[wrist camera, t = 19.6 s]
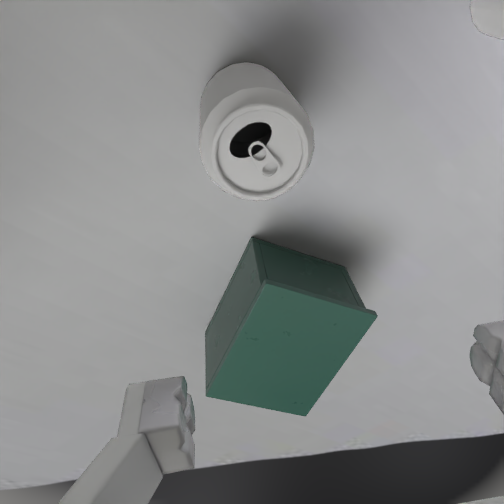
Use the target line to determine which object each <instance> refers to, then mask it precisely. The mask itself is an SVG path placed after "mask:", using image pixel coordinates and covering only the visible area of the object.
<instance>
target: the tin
mask: <svg viewBox="0 0 504 504" xmlns="http://www.w3.org/2000/svg"><path fill="white" fill-rule="evenodd" d="M265 279H268V280H272V281H275V282H278V283H282V284H285V285H288V286H292V287H295V288H298V289H302V290H305V291H309V292H312V293H315V294H319V295H322V296H325V297H329V298H332V299H335V300H339V301H342V302H345V303H349V304H352V305H356V306H359V307H362V308H365V306H364V304H363V302H362V300H361V298H360V296H359V294H358V292H357V290H356V288H355V286H354V284H353V282H352V280H351V278H350V276H349V274H348V272H347V270H346V268H345V267H343V266H340V265H337V264H334V263H330V262H327V261H324V260H321V259H318V258H315V257H312V256H309V255H306V254H303V253H300V252H297V251H294V250H291V249H287V248H284V247H281V246H278V245H275V244H272V243H269V242H266V241H263V240H260V239H257V238H254V237H251V239H250V241H249V243H248V245H247V247H246V249H245V251H244V254H243V256H242V258H241V260H240V262H239V264H238V266H237V268H236V270H235V272H234V274H233V276H232V278H231V280H230V283H229V285H228V287H227V289H226V291H225V293H224V295H223V297H222V299H221V301H220V303H219V305H218V307H217V309H216V312H215V314H214V316H213V318H212V320H211V322H210V324H209V326H208V328H207V330H206V332H205V352H206V389H207V388H208V386H209V384H210V382H211V380H212V378H213V376H214V374H215V372H216V371H217V369H218V367H219V365H220V363H221V361H222V359H223V357H224V355H225V353H226V352H227V350H228V348H229V346H230V344H231V342H232V340H233V338H234V336H235V335H236V333H237V331H238V329H239V327H240V325H241V323H242V321H243V319H244V317H245V316H246V314H247V312H248V310H249V308H250V306H251V304H252V302H253V300H254V299H255V297H256V295H257V293H258V291H259V289H260V287H261V285H262V283H263V281H264V280H265Z"/></svg>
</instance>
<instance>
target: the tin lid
mask: <svg viewBox="0 0 504 504" xmlns="http://www.w3.org/2000/svg"><path fill="white" fill-rule="evenodd" d="M376 318H377V314H376V312H375V311H372V310H369V309H366V308H362V307H359V306H356V305H352V304H349V303H345V302H342V301H339V300H335V299H332V298H329V297H325V296H322V295H319V294H315V293H312V292H309V291H305V290H302V289H298V288H295V287H292V286H288V285H285V284H282V283H278V282H275V281H272V280H268V279H265V280H264V281H263V283H262V285H261V287H260V289H259V291H258V293H257V295H256V297H255V299H254V300H253V302H252V304H251V306H250V308H249V310H248V312H247V314H246V316H245V317H244V319H243V321H242V323H241V325H240V327H239V329H238V331H237V333H236V335H235V336H234V338H233V340H232V342H231V344H230V346H229V348H228V350H227V352H226V353H225V355H224V357H223V359H222V361H221V363H220V365H219V367H218V369H217V371H216V372H215V374H214V376H213V378H212V380H211V382H210V384H209V386H208V388H207V389H206V396H207V397H211V398H216V399H221V400H226V401H231V402H236V403H241V404H246V405H251V406H256V407H261V408H266V409H271V410H276V411H281V412H286V413H291V414H296V415H301V416H306V415H307V414H308V412H309V411H310V410H311V408H312V407H313V405H314V404H315V403H316V401H317V400H318V398H319V397H320V396H321V394H322V393H323V392H324V390H325V389H326V387H327V386H328V385H329V383H330V382H331V380H332V379H333V378H334V376H335V375H336V373H337V372H338V371H339V369H340V368H341V367H342V365H343V364H344V362H345V361H346V360H347V358H348V357H349V355H350V354H351V353H352V351H353V350H354V348H355V347H356V346H357V344H358V343H359V341H360V340H361V339H362V337H363V336H364V335H365V333H366V332H367V330H368V329H369V328H370V326H371V325H372V323H373V322H374V321H375V319H376Z"/></svg>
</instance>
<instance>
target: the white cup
mask: <svg viewBox="0 0 504 504" xmlns="http://www.w3.org/2000/svg"><path fill="white" fill-rule="evenodd" d="M470 10H471V16H472V21H473V23H474V24H475V26H476V27H477V28H478V30H479V31H480V32H482V33H484V34H486V35H489V36H491V37H495V38H498V39H502V40H504V0H471V4H470Z"/></svg>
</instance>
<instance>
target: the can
mask: <svg viewBox="0 0 504 504" xmlns="http://www.w3.org/2000/svg"><path fill="white" fill-rule="evenodd" d="M199 148H200V154H201V159H202V164H203V166H204V168H205V170H206V172H207V173H208V175H209V177H210V179H211V180H212V181H213V182H214V183H215V184H216V185H217V186H218V187H220V188H221V189H222V190H223V191H224V192H227V193H229V194H231V195H233V196H235V197H237V198H241V199H246V200H254V201H262V200H268V199H273V198H275V197H278V196H280V195H282V194H284V193H286V192H287V191H288V190H290V189H291V188H292V187H293V186H294V185H295V184H296V183H298V181H299V180H300V179H301V178H302V176H303V174H304V173H305V171H306V170H307V168H308V166H309V165H310V162H311V158H312V154H313V151H314V130H313V128H312V125H311V122H310V120H309V117H308V115H307V113H306V112H305V110H304V109H303V108H302V107H301V105H300V104H299V103H298V102H297V100H296V99H295V98H294V97H293V95H292V94H291V93H290V92H289V90H288V89H287V88H286V87H285V85H284V84H283V83H282V82H281V81H280V79H279V78H278V77H277V76H276V75H275V74H274V72H272V71H270V70H269V69H267V68H265V67H263V66H262V65H258V64H253V63H248V62H245V63H238V64H232V65H230V66H228V67H226V68H224V69H222V70H220V71H218V72H217V73H216V75H215V76H214V77H213V78H212V79H211V80H210V81H209V82H208V84H207V86H206V88H205V90H204V92H203V94H202V98H201V106H200V135H199Z"/></svg>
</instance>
